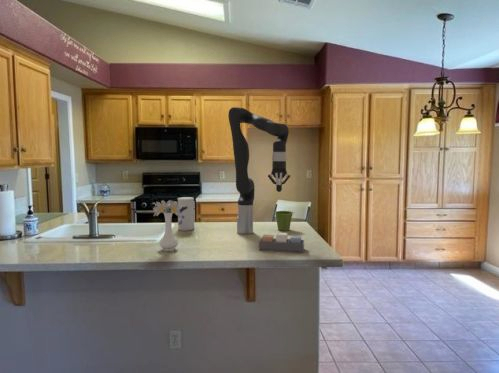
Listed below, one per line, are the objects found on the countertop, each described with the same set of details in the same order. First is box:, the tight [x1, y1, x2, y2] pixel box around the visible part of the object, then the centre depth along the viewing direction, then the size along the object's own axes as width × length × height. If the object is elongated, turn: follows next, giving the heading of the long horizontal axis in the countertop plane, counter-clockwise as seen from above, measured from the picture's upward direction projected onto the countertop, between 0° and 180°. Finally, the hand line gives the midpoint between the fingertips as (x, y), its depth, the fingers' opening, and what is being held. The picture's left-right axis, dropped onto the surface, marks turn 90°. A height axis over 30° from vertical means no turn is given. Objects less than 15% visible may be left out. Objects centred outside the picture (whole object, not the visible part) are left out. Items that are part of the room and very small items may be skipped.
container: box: [177, 196, 195, 232], centre depth 229 cm, size 10×10×20 cm
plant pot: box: [274, 210, 294, 232], centre depth 226 cm, size 12×12×11 cm
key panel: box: [258, 237, 305, 254], centre depth 181 cm, size 22×8×4 cm, turn 78°
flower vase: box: [152, 199, 182, 252], centre depth 181 cm, size 13×18×25 cm
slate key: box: [290, 235, 302, 243], centre depth 180 cm, size 5×5×4 cm
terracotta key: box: [261, 234, 275, 242], centre depth 182 cm, size 5×5×4 cm
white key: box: [275, 232, 288, 243], centre depth 181 cm, size 5×5×4 cm
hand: (279, 191), depth 199 cm, fingers closed
